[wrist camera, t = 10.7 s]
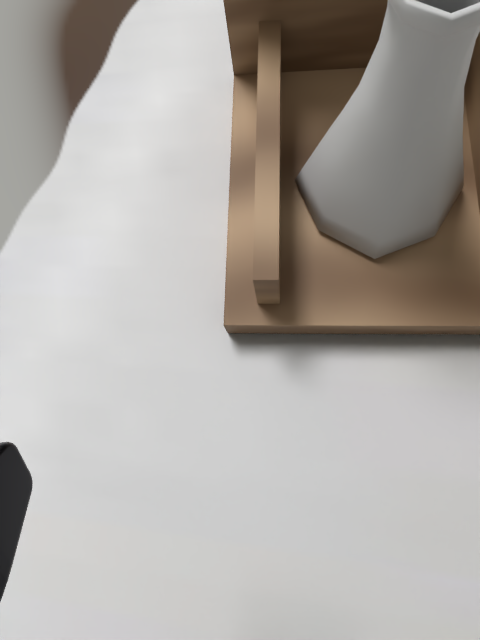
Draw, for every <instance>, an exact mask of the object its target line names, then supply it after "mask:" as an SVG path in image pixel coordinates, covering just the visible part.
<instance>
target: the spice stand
mask: <svg viewBox="0 0 480 640" xmlns="http://www.w3.org/2000/svg"><path fill="white" fill-rule="evenodd" d="M387 3H388V0H224V7H225V14H226V21H227V28H228V36H229V43H230V50H231V57H232V64H233V71H234V89H233V113H232V137H231V161H230V186H229V210H228V234H227V258H226V282H225V307H224V327H225V329H226V331H227V332H228V333H263V334H470V335H480V32H479V34H478V36H477V38H476V41H475V45H474V49H473V53H472V58H471V62H470V66H469V70H468V74H467V78H466V82H465V86H464V111H463V165H464V185H463V188H462V190H461V192H460V194H459V195H458V197H457V199H456V200H455V202H454V204H453V205H452V207H451V209H450V211H449V212H448V214H447V216H446V217H445V219H444V221H443V222H442V224H441V226H440V228H439V229H438V231H437V233H436V234H435V236H434V237H431V238H428V239H426V240H423V241H421V242H418V243H415V244H413V245H410V246H408V247H405V248H402V249H400V250H397V251H394V252H392V253H389V254H387V255H384V256H381V257H379V258H376V259H373V258H371V257H369V256H367V255H365V254H364V253H362V252H360V251H358V250H356V249H354V248H352V247H350V246H348V245H346V244H344V243H342V242H340V241H338V240H337V239H335V238H333V237H331V236H329V235H327V234H325V233H323V232H321V231H319V230H318V229H317V226H316V224H315V222H314V220H313V218H312V216H311V214H310V212H309V210H308V207H307V205H306V203H305V201H304V199H303V197H302V195H301V193H300V190H299V188H298V186H297V184H296V182H295V179H296V177H297V176H298V174H299V173H300V171H301V169H302V168H303V166H304V165H305V164H306V162H307V161H308V159H309V158H310V156H311V155H312V153H313V152H314V150H315V149H316V147H317V146H318V144H319V143H320V141H321V140H322V139H323V137H324V136H325V134H326V133H327V131H328V130H329V128H330V127H331V125H332V124H333V123H334V121H335V120H336V118H337V117H338V116H339V114H340V113H341V112H342V110H343V109H344V107H345V106H346V104H347V103H348V101H349V99H350V98H351V96H352V95H353V93H354V92H355V90H356V89H357V87H358V86H359V84H360V81H361V79H362V77H363V75H364V72H365V70H366V68H367V66H368V63H369V61H370V59H371V57H372V54H373V52H374V50H375V48H376V45H377V43H378V41H379V38H380V34H381V30H382V26H383V22H384V18H385V14H386V9H387Z"/></svg>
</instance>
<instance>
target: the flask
mask: <svg viewBox="0 0 480 640" xmlns="http://www.w3.org/2000/svg"><path fill="white" fill-rule="evenodd" d="M479 32H480V0H388V3H387V9H386V14H385V18H384V22H383V26H382V30H381V34H380V38H379V41H378V43H377V45H376V48H375V50H374V52H373V54H372V57H371V59H370V61H369V63H368V66H367V68H366V70H365V72H364V75H363V77H362V79H361V81H360V84H359V86H358V87H357V89H356V90H355V92H354V93H353V95H352V96H351V98H350V99H349V101H348V103H347V104H346V106H345V107H344V109H343V110H342V112H341V113H340V114H339V116H338V117H337V118H336V120H335V121H334V123H333V124H332V125H331V127H330V128H329V130H328V131H327V133H326V134H325V136H324V137H323V139H322V140H321V141H320V143H319V144H318V146H317V147H316V149H315V150H314V152H313V153H312V155H311V156H310V158H309V159H308V161H307V162H306V164H305V165H304V166H303V168H302V169H301V171H300V173H299V174H298V176H297V177H296V179H295V182H296V184H297V186H298V188H299V190H300V193H301V195H302V197H303V199H304V201H305V203H306V205H307V207H308V210H309V212H310V214H311V216H312V218H313V220H314V222H315V224H316V226H317V229H318V230H319V231H321V232H323V233H325V234H327V235H329V236H331V237H333V238H335V239H337V240H338V241H340V242H342V243H344V244H346V245H348V246H350V247H352V248H354V249H356V250H358V251H360V252H362V253H364V254H365V255H367V256H369V257H371V258H373V259H376V258H379V257H381V256H384V255H387V254H389V253H392V252H394V251H397V250H400V249H402V248H405V247H408V246H410V245H413V244H415V243H418V242H421V241H423V240H426V239H428V238H431V237H434V236H435V234H436V233H437V231H438V229H439V228H440V226H441V224H442V222H443V221H444V219H445V217H446V216H447V214H448V212H449V211H450V209H451V207H452V205H453V204H454V202H455V200H456V199H457V197H458V195H459V194H460V192H461V190H462V188H463V185H464V165H463V111H464V86H465V82H466V78H467V74H468V70H469V66H470V62H471V58H472V53H473V49H474V45H475V41H476V38H477V36H478V34H479Z"/></svg>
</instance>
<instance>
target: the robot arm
mask: <svg viewBox="0 0 480 640" xmlns="http://www.w3.org/2000/svg"><path fill="white" fill-rule="evenodd" d="M31 492H32V477H31V474H30V472H29V470H28V468H27V466H26V464H25V462H24V460H23V458H22V456H21V455H20V453H19V451H18V449H17V447H16V446H15V445H14V444H13V443H10V442H2V443H0V601H1V599H2V596H3V593H4V590H5V587H6V584H7V581H8V578H9V574H10V571H11V567H12V564H13V560H14V556H15V553H16V549H17V545H18V541H19V537H20V533H21V530H22V526H23V522H24V518H25V514H26V511H27V507H28V503H29V499H30V495H31Z"/></svg>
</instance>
